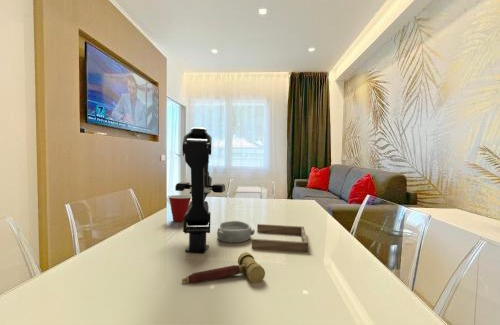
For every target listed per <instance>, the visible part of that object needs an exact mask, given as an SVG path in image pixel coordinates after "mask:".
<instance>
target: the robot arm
mask: <svg viewBox="0 0 500 325" xmlns="http://www.w3.org/2000/svg"><path fill="white" fill-rule="evenodd" d="M207 130H208V129H207V128H205V127H194V126H193V127H192V128H190V132H188V133H186V134H185V135H184V136H183V139H182V140H183V141H182V154H183V155H184V160H185V164H187V166H188V167H189V168H190V182H187V181H186V182H184V181H183V182H182V181H181V182H178V183H176V185H175V186H174V187H175V189H174V190H175V191H177V192H184V191H185V190H190V191H189V194H191V196H192V197H191V200H190V202H189V206H188V212H186V214H185V216H184V222H182V223H183V225H182V232H183V233H184V234H188V246H187V247H186V249H185V250H184V251H185V253H197V254H204V253H206V251H207V250H208V249H209V247H210V245H209V244H207V233H208V234H211V216H212V215H211V214H212V213H211V212H210V210H209V202H208V201H206V198H207V196H208V195H209V194H210V193H211V192H213V193H219V194H220V193H224V192H225V191H226V184H224V183H214V184H213V183H212V181H213V178H212V177H211V176H210V172H209V163H210V156H211V155H212V143H213V142H212V136H211V135H210V133H208V131H207ZM190 183H191V184H190Z"/></svg>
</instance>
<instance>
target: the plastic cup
mask: <svg viewBox="0 0 500 325" xmlns="http://www.w3.org/2000/svg"><path fill="white" fill-rule="evenodd" d="M168 200H169V204H170V210H171V217H172V220H173V222H174V221H175V222H176V223H183V222H182V221H184V216H185V214H186V212H188V206H189V203H190V202H191V200H192V195H181V194H178V195H176V194H175V195H174V194H172V195H168ZM175 222H174V223H175Z"/></svg>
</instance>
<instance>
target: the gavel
mask: <svg viewBox="0 0 500 325" xmlns="http://www.w3.org/2000/svg"><path fill="white" fill-rule="evenodd" d="M237 263H238V264H237V265H236V264H234V265H229V266H223V267H217V268H213V269H208V270H207V269H206V270H201V271H198V272H197V271H196V272H193V273H191V274H189V275H187V276H186V277H185V278H184V277H183V278H182V279H181V282H182V283H185V282H186V283H189V284H197V283H202V282H203V283H204V282H207V281H213V280H218V279H223V278H228V277H233V276H236V275H239V274H242V273H243V274H244V273H245V274H246V277H247V278H248V280H249V281H250V282H251V283H260V282H262V281H263V280H264V278H265V277H266V271H265V268H264V267H263V266H262V265H261V264H259V263H258V262H257V261H256V260H255V257H254V256H253V255H252V254H251V253H250V252H247V251H246V252H243V253H241V254H240V255H239V256H238V259H237Z"/></svg>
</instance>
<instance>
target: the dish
mask: <svg viewBox="0 0 500 325" xmlns="http://www.w3.org/2000/svg"><path fill="white" fill-rule="evenodd" d="M255 233H256V232H255V229H254V228H252V227H251V226H250V224H249V223H247V222H244V221H240V220H230V221H224V222H221V223H220V225H219V227H218V228H217V233H216V234H217V239H218V240H219V241H221V242H224V243H242V242H245V241H248V240H250V238H251V236H253V235H254V234H255Z"/></svg>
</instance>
